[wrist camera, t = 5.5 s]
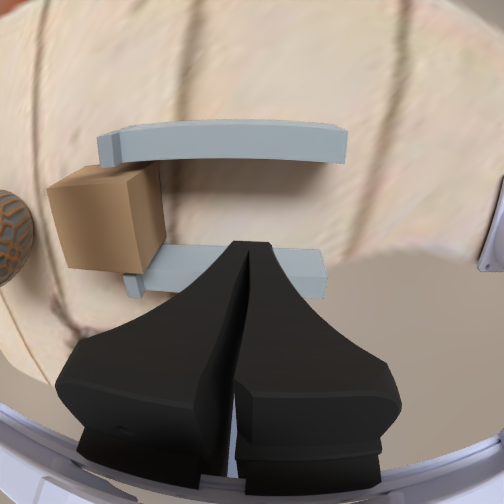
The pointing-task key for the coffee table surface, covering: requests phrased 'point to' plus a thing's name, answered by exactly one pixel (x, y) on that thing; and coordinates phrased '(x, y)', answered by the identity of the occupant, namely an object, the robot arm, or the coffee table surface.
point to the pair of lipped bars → (223, 146)
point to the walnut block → (109, 216)
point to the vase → (13, 235)
